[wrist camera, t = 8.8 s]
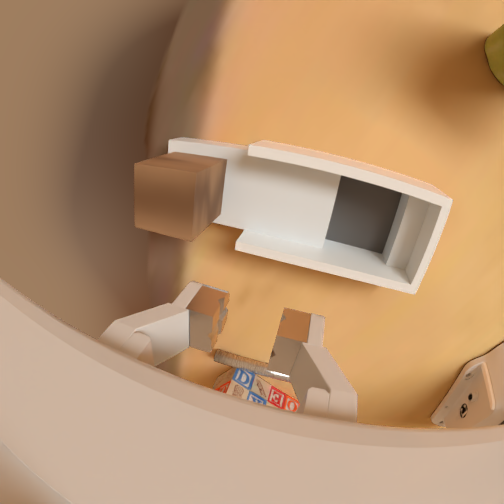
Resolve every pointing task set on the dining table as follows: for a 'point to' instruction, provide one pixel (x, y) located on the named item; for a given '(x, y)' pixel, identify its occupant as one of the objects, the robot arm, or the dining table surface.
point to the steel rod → (247, 365)
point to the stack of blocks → (253, 389)
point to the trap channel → (327, 211)
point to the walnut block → (178, 193)
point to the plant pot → (496, 53)
